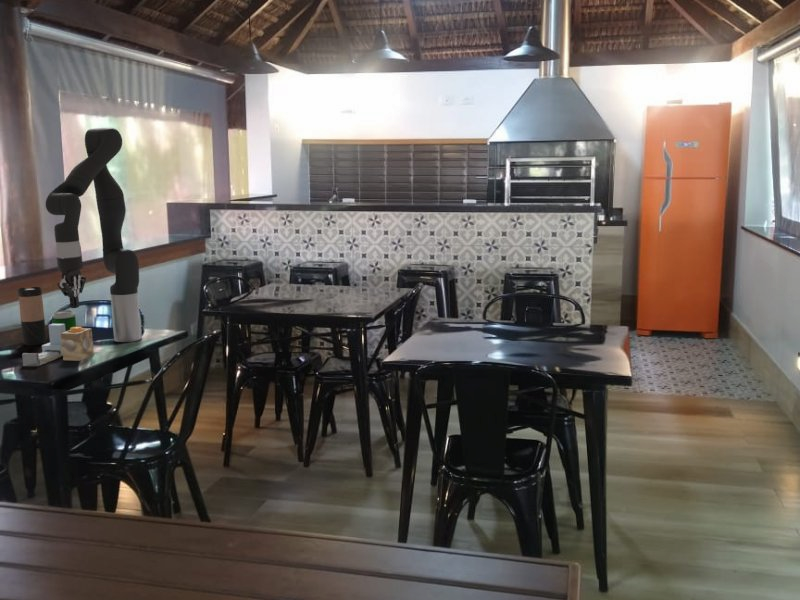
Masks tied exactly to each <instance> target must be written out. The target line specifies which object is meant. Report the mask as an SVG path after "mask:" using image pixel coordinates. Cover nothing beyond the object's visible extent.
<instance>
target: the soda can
mask: <svg viewBox="0 0 800 600" xmlns="http://www.w3.org/2000/svg"><path fill="white" fill-rule="evenodd" d="M51 318H52V319H51V321H52V322H51V323H52V324H65V330H66V331H69V330H70V328H72V327H77V320H76V319H77V318H76V313H75V312H74V311H73V310H70V309H68V310H66V309H65V310H58V311H55V312H53V313H52V315H51Z"/></svg>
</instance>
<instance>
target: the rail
mask: <svg viewBox="0 0 800 600" xmlns="http://www.w3.org/2000/svg"><path fill="white" fill-rule="evenodd" d="M21 356H22V357H21V358H22V366H23V367H37V368H38V367H39V366H42V365H45V364H47V363H50V362H52V361H55V360H56V359H59V358H61V357H62V358H63V355H61V353H60V350H47V351H44V352H42V351H41V352H40V353H35V352H31V353H30V352H29V353H28V352H23V353H22V354H21Z"/></svg>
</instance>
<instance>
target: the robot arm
mask: <svg viewBox="0 0 800 600" xmlns="http://www.w3.org/2000/svg"><path fill="white" fill-rule="evenodd" d="M84 146H85V150H86V155H87V157H86V158H84V159H83V160H82V161H80V162H79V163H77V164H76V165H75V166H74V167H73V168H72V169H71V171H70V172H69V173H68V175H67V177H66V178H65V180H64V181H63V182H62V183H60V184H59V185H58V186H56V187H55V188H54V189H53V190H52V191H51V192H50V193H49V194H48V195H47V197H46V198H45V199H46V200H45V209H46V210H47V212H48V213H49V214H51V215H53V216H64V220H63V221H62V222H58V223H56V224H55V225H54V230H53V231H54V239H55V254H56V256H55V257H56V261H57V262H56V264H57V270H58V271H59V272H61V276H60V277H61V280H60V281H59V282H57V286H58V288H59V290H60V291H61V293H62V294H63V296H64V297H68V299H69V305H70V309H77V308H79V307H80V300H79V296H80V295H81V294H82V293H83V291H84V287H85V283H86V280H87V277H86V276H83V275H82V271H81V270H83V268H84V263H83V255H82V247H81V243H80V234H79V233H80V232H79V224H80V218H81V213H82V202H81V199H80V197H82V196H84V195H85V193H86V192H87V190H88V189H89V188H90V185H91V184H92V182H93V186H94V191H95V201H96V207H97V214H98V218H99V225H100V232H101V240H102V243H101V244H102V259H103V264H104V268H105V269H106V270H107V271H108V272H109V273H111V274H114V275H115V282H114V283H113V284H112V285H110V288H109V292H110V293H109V294H110V303H111V316H112V329H113V330H112V331H113V339H114V342H116V343H129V342H136V341H140V340H141V339H142V336H143V335H142V323H141V311H140V307H139V306H140V305H139V304H140V303H139V294H138V293H139V291H138V287H139V284H140V264H139V258H138V256H137V254H136V252H135V251H133V250H131V249H127V248H124V245H123V240H122V230H123V224H124V221H125V219H126V211H127V209H126V202H125V193H124V191H123V189H122V188H121V186H120V184H119V183H118V182H117V180H116V179H115V177H114V176H113V175H112V173H111V172H110V170H109V168H108V165H107V164H109V162H110V161H111V160H112V159H113V158H115V157H116V155H117V154H119V152H120V151H121V149H122V146H123V137H122V135H121V133H120V131H119V130H118V129H116V128H114V127H96V128H89V129H88V130H86V132H85V135H84Z"/></svg>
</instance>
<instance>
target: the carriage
mask: <svg viewBox="0 0 800 600" xmlns="http://www.w3.org/2000/svg"><path fill="white" fill-rule="evenodd" d="M63 332H66V330H65V324H53V323H51V324H48V335H49V342H47V343H44V344H41V350H42V351H41V353H42V352H44V351H47V350H60V353H61V355H63V352H62V341H61V333H63Z"/></svg>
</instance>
